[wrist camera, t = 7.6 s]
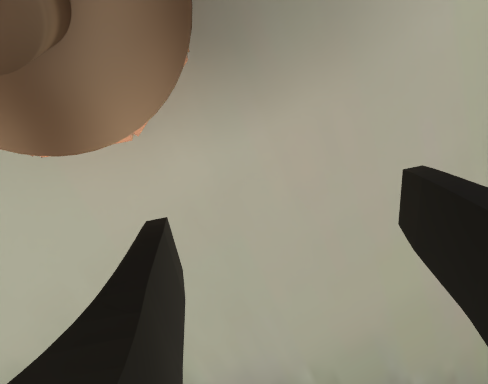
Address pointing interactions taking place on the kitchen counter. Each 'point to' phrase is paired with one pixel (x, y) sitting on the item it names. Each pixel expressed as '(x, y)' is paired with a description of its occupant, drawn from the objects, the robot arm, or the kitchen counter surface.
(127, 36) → the lid
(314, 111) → the kitchen counter surface
